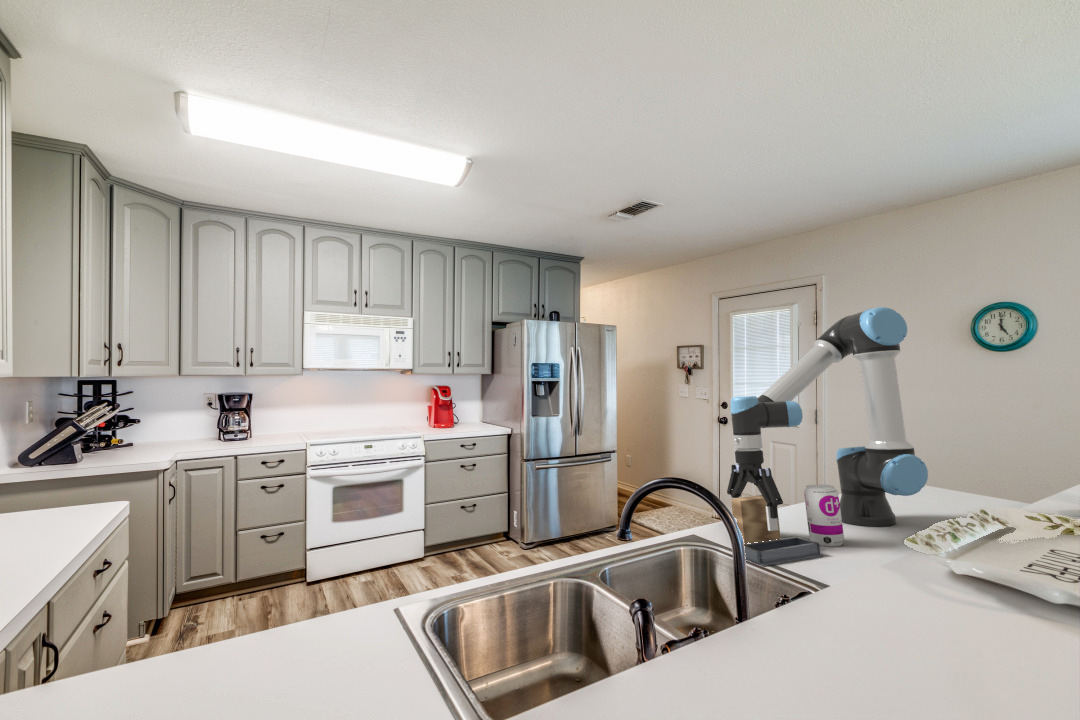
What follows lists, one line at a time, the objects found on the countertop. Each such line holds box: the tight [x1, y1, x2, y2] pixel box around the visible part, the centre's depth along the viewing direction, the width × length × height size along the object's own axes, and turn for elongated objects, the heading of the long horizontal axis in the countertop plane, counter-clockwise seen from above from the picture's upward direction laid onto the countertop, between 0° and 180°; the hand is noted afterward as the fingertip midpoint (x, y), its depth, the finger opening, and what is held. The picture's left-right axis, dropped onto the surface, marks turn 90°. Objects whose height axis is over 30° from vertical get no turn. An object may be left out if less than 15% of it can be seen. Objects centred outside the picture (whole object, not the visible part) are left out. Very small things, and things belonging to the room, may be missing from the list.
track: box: [744, 536, 825, 568], centre depth 120 cm, size 18×9×3 cm, turn 105°
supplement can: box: [803, 484, 845, 548], centre depth 129 cm, size 8×8×15 cm
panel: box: [730, 494, 782, 544], centre depth 135 cm, size 12×4×12 cm, turn 105°
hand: (755, 525), depth 135 cm, fingers open, 13 cm apart
